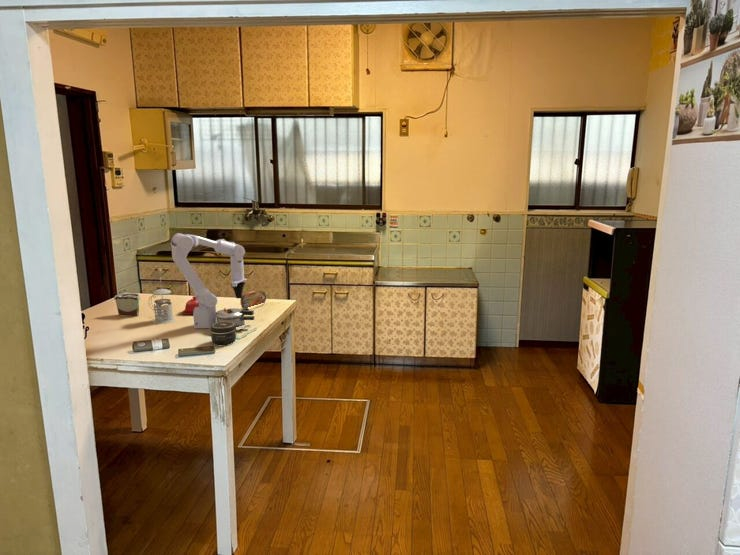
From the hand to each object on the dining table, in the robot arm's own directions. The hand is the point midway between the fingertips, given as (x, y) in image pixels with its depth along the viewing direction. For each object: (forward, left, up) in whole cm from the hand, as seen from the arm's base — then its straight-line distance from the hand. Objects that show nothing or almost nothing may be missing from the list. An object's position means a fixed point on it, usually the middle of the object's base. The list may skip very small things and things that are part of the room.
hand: (239, 298), depth 240 cm
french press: (-36, -2, -11) cm, 38 cm away
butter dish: (-25, +12, -11) cm, 29 cm away
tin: (+2, +20, -11) cm, 23 cm away
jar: (+1, -31, -11) cm, 33 cm away
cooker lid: (+1, -13, -4) cm, 14 cm away
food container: (-55, +8, -11) cm, 57 cm away
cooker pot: (+1, -13, -10) cm, 17 cm away
